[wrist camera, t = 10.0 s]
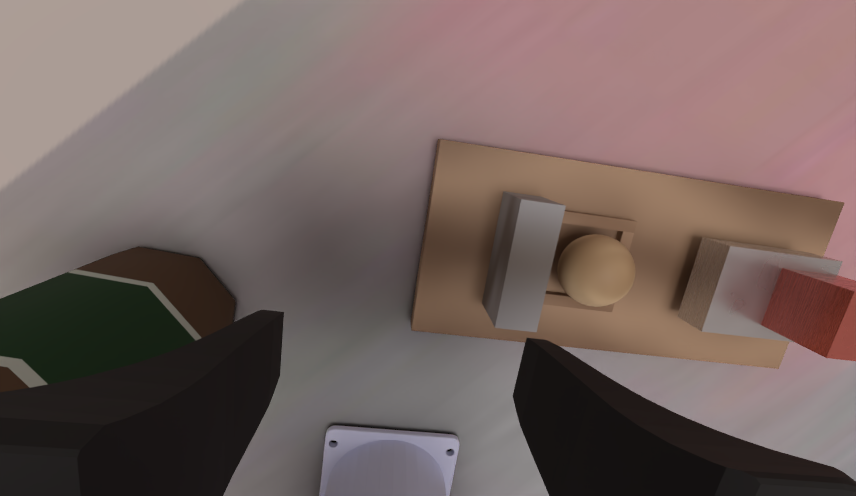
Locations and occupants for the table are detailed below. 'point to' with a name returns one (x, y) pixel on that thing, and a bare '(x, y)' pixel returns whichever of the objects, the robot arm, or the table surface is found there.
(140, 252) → the beer bottle
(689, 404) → the table surface
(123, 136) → the table surface
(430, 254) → the wooden puzzle board
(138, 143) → the table surface
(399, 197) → the table surface
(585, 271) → the walnut
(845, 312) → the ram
